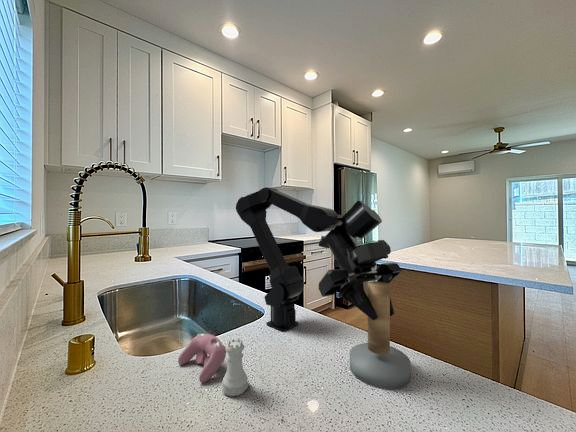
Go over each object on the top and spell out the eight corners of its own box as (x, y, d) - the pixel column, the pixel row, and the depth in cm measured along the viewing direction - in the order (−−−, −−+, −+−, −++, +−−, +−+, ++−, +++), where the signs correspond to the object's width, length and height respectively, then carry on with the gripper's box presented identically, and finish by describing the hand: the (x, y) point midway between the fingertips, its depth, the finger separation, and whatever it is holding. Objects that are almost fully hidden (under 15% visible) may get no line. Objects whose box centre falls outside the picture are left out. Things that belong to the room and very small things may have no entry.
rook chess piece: (216, 392, 42) (215, 344, 43) (233, 377, 46) (233, 334, 46) (236, 401, 40) (236, 351, 40) (253, 384, 44) (253, 339, 44)
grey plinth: (339, 370, 48) (339, 357, 48) (365, 348, 56) (365, 337, 56) (398, 398, 41) (398, 383, 41) (418, 368, 49) (418, 355, 49)
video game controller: (220, 384, 47) (233, 344, 49) (199, 384, 44) (215, 341, 46) (193, 364, 53) (207, 329, 56) (174, 362, 50) (189, 326, 53)
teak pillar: (364, 349, 49) (364, 284, 49) (373, 341, 51) (373, 280, 51) (384, 357, 46) (384, 288, 46) (393, 348, 49) (393, 284, 49)
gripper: (326, 228, 48) (369, 304, 38) (395, 226, 56) (444, 288, 47) (305, 262, 55) (337, 334, 45) (369, 256, 63) (407, 315, 54)
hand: (384, 317), depth 47 cm, fingers closed on teak pillar, 4 cm apart
